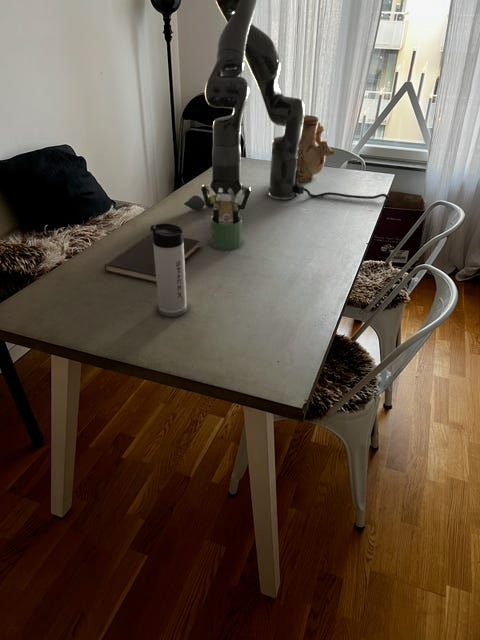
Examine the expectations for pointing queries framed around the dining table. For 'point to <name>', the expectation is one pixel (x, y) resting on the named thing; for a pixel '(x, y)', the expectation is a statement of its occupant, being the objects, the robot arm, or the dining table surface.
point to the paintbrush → (198, 202)
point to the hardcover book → (143, 259)
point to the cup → (226, 235)
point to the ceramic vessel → (311, 149)
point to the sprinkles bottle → (225, 209)
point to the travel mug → (169, 269)
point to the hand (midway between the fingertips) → (226, 221)
